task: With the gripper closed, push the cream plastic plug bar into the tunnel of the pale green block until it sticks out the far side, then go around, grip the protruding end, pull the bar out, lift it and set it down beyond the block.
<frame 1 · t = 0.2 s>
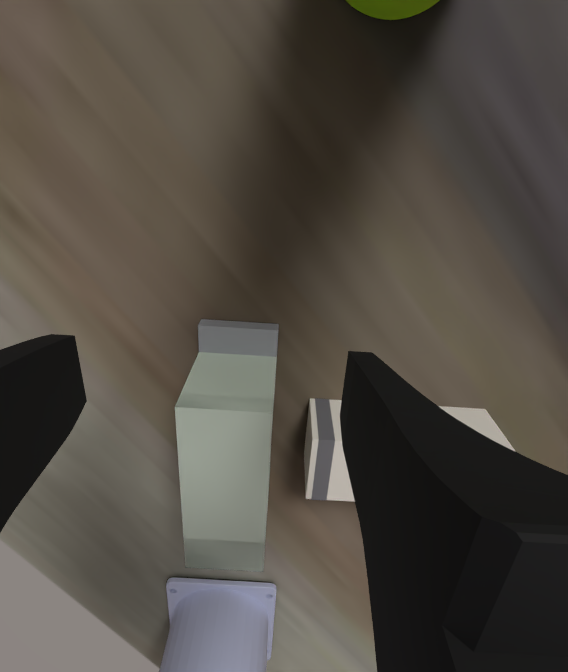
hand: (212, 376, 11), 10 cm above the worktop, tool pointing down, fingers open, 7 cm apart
pale green block: (238, 423, 24), on the worktop
plug bar: (391, 431, 24), on the worktop
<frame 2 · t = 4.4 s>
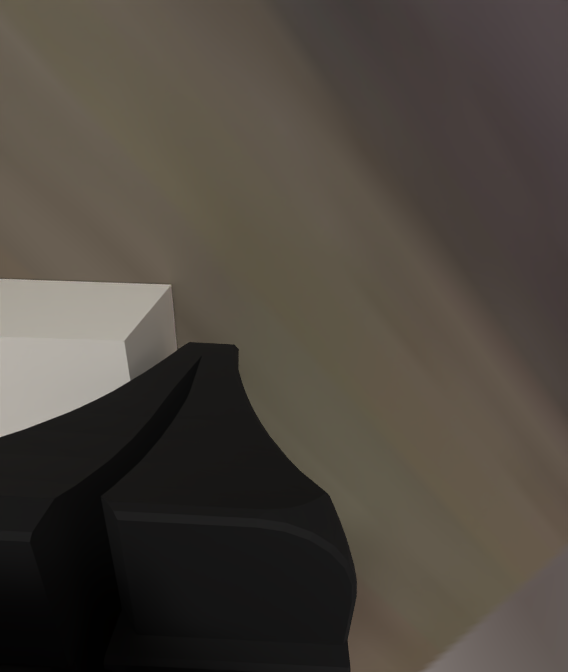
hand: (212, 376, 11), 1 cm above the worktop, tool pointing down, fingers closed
plug bar: (9, 343, 12), on the worktop, touching gripper
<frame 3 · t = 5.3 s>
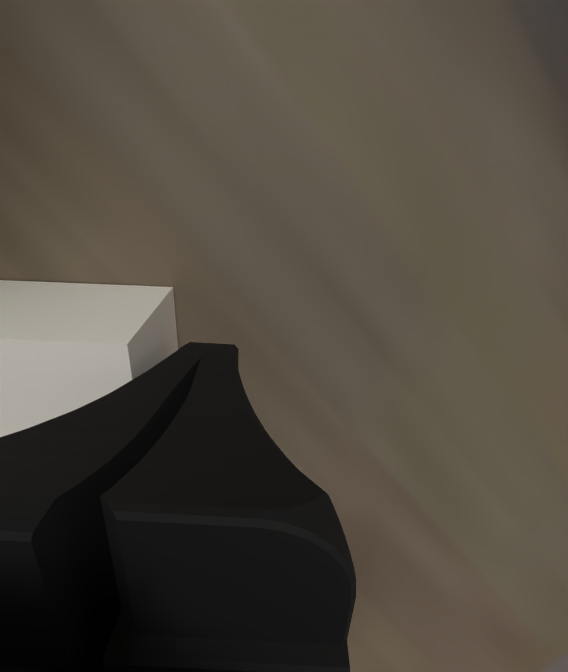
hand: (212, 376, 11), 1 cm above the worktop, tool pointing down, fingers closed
plug bar: (10, 344, 12), on the worktop, touching gripper
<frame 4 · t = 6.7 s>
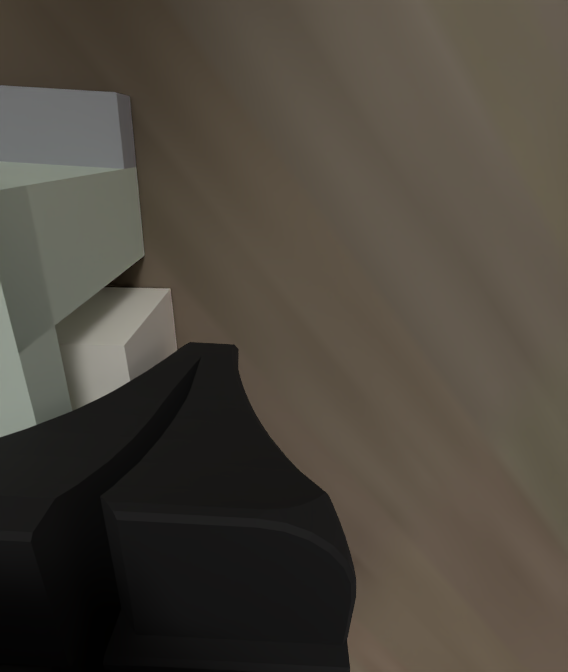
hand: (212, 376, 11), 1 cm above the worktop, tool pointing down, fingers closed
pale green block: (85, 344, 12), on the worktop
plug bar: (10, 348, 12), on the worktop, touching gripper
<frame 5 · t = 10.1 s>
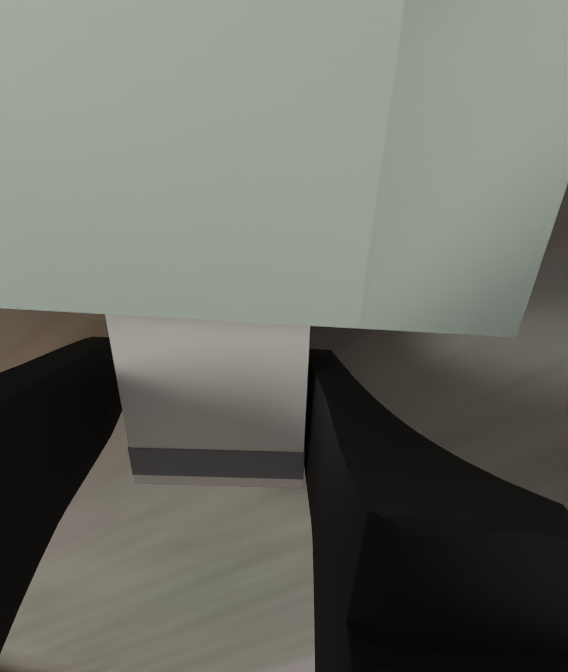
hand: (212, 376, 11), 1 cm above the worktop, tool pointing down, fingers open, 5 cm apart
pale green block: (218, 149, 10), on the worktop
plug bar: (230, 245, 11), on the worktop, touching gripper
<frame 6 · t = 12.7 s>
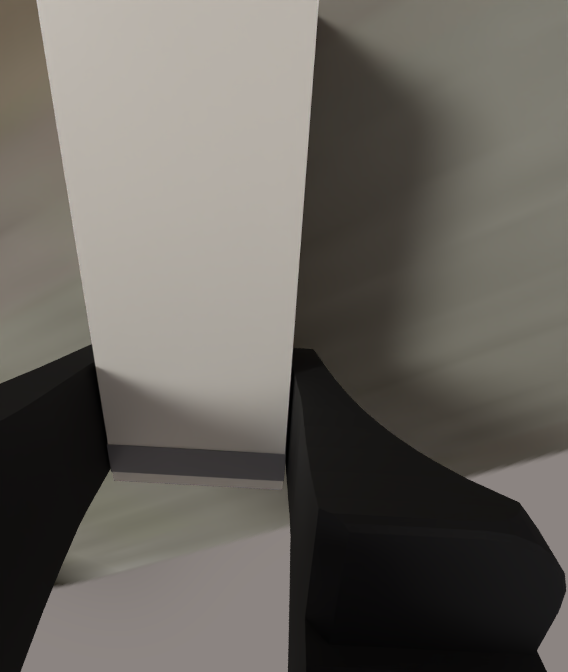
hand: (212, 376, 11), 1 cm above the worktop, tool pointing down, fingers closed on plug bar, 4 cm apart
plug bar: (219, 242, 11), on the worktop, touching gripper
when the fingers open (3 cm above the worktop, at t = 15.3 s): plug bar drops 1 cm, on the worktop.
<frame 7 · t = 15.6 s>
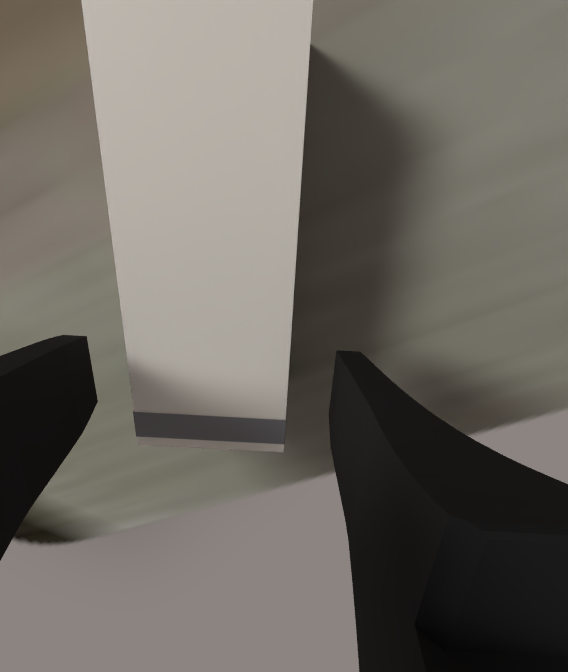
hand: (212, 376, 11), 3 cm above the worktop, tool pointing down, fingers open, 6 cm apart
plug bar: (227, 239, 12), on the worktop
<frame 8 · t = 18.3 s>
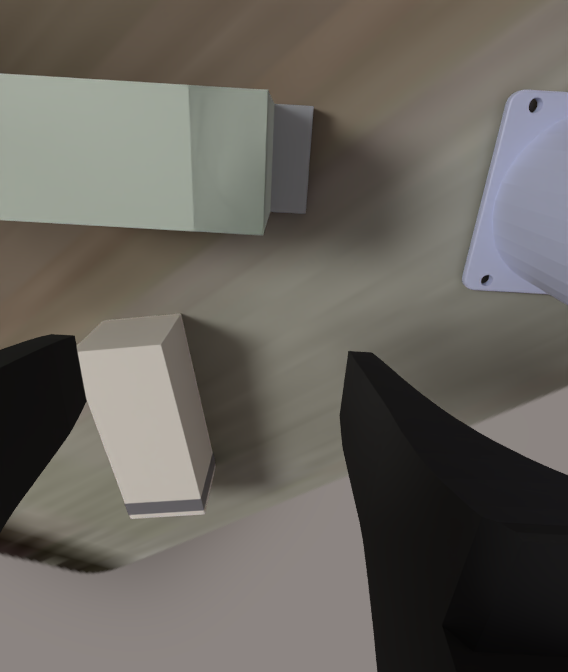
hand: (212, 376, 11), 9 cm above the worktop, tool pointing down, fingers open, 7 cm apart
pale green block: (154, 152, 17), on the worktop
plug bar: (164, 399, 23), on the worktop
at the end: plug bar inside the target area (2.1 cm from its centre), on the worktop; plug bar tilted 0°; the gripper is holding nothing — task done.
